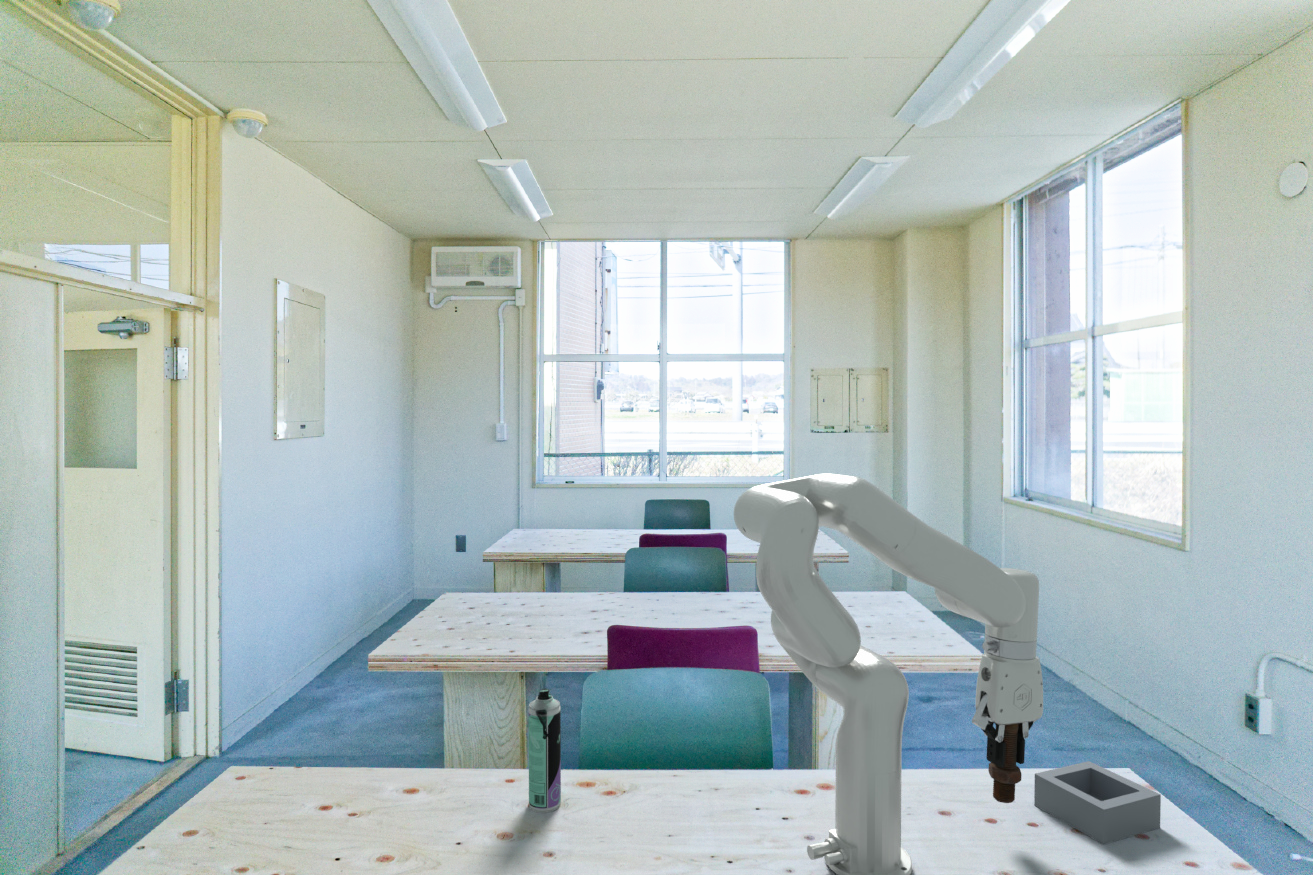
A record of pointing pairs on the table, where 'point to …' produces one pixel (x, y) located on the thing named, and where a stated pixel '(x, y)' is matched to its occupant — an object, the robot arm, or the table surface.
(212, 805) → the table surface
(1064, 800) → the socket block
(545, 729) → the spray can
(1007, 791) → the bolt
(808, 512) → the robot arm
